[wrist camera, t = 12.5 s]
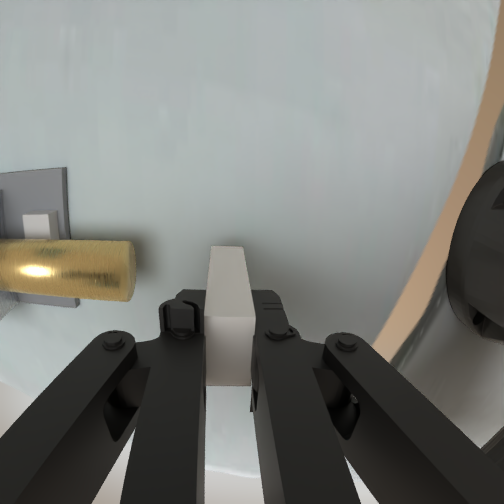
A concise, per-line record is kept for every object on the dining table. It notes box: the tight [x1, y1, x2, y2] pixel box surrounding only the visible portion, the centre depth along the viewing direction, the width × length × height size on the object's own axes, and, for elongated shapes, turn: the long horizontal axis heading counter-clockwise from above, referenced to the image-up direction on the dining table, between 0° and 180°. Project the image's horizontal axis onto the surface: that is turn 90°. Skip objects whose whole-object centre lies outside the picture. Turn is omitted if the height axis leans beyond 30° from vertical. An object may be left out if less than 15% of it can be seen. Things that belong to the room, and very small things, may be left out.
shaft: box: [0, 239, 136, 302], centre depth 15 cm, size 13×3×3 cm, turn 87°
